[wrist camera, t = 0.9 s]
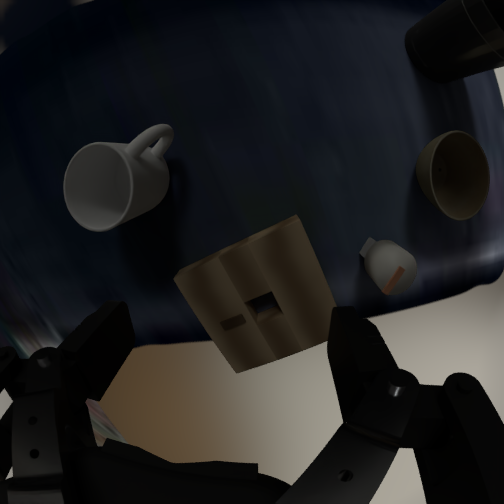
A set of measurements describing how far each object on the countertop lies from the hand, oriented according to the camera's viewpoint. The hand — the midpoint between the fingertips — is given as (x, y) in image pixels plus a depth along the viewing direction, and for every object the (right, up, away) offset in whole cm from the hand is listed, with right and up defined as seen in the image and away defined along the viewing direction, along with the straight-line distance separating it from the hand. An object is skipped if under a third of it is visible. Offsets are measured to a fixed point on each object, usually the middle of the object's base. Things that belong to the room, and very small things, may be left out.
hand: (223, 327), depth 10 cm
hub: (+3, -3, +25) cm, 26 cm away
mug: (-11, +13, +21) cm, 27 cm away
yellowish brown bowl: (+24, +13, +19) cm, 33 cm away
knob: (+16, +3, +23) cm, 28 cm away
